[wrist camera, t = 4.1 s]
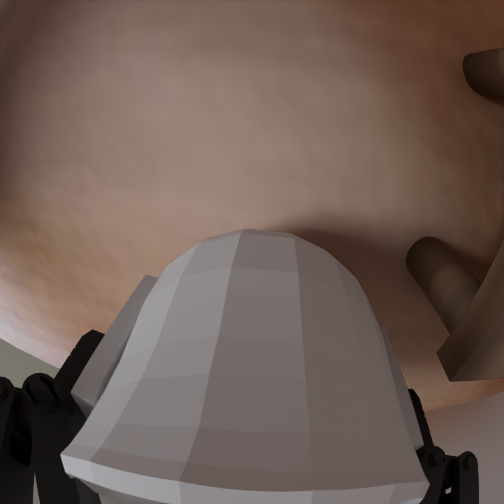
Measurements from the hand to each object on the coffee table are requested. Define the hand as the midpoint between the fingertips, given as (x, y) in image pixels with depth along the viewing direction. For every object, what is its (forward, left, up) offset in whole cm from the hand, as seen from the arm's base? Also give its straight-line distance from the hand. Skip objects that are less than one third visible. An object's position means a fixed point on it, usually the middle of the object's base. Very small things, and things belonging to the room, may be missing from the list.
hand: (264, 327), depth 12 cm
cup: (0, 0, -1) cm, 1 cm away
